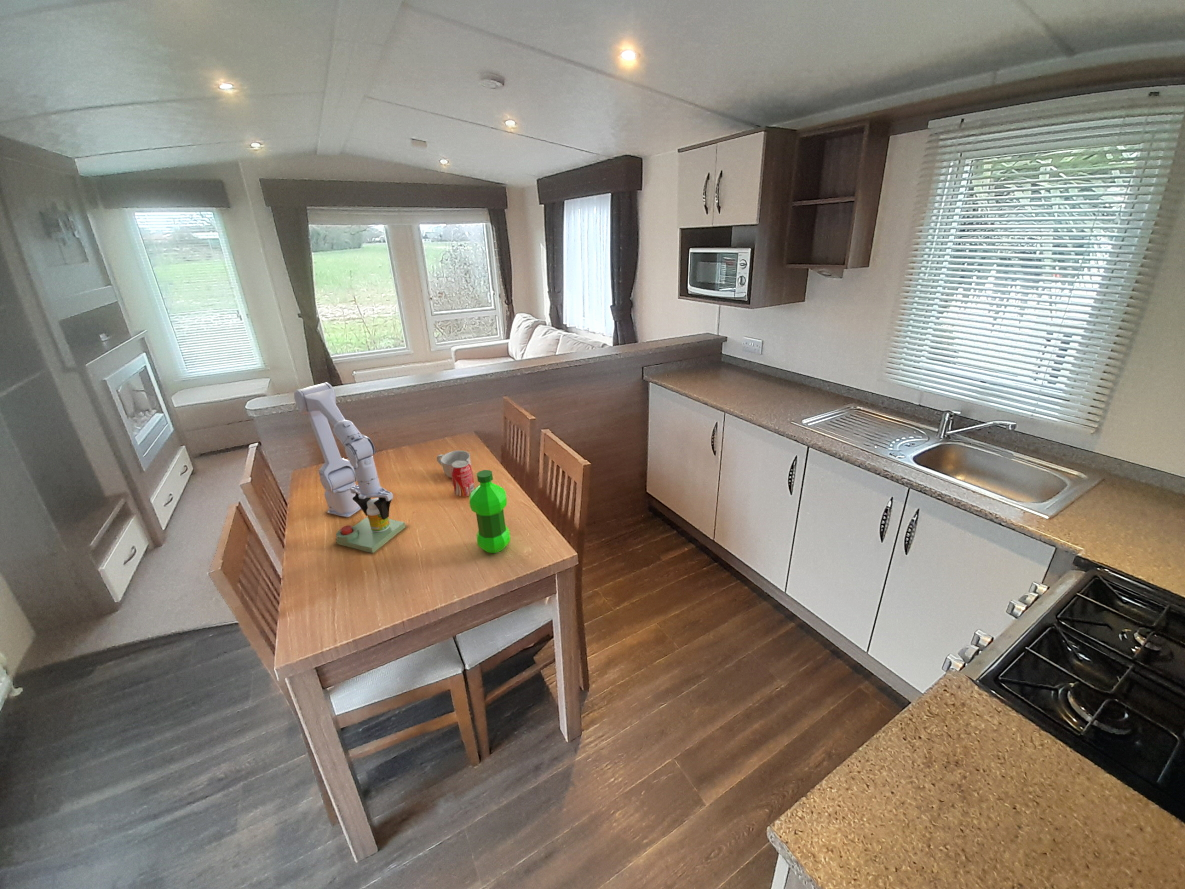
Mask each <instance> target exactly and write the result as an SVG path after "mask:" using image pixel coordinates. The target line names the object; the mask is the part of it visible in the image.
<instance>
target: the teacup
mask: <svg viewBox="0 0 1185 889" xmlns="http://www.w3.org/2000/svg"><path fill="white" fill-rule="evenodd" d="M457 460H467V461H468V462H469V464H470V465H471V466H472V459H471V454H470V452H468V451H467V450H452V451H450V452H447V453H445V454H442V453H441V454H440V453H439V454H438V455H437V456H436V461H437V462H438V464H439V465H440V466H441V467H442V470H443V473H444V474H445V476H446V477H447V478H451V479H452V475H451V467H452V463H453V462H455V461H457Z"/></svg>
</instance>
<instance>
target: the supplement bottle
mask: <svg viewBox="0 0 1185 889" xmlns="http://www.w3.org/2000/svg"><path fill="white" fill-rule="evenodd" d="M378 499H379V498H378V497H376V498H371V500H369V501H368V502H367V506H368V509H367V516H366V517H368V519H369V523H370V527H371V530H372V531H373V532H383V531H385V530H387V529H388V528H389V526H390V524H389V520H388V519H389V517H388V518H386V519H385V520H383V519H382V518H381V515H380V512H379V510H378V508H377V507H376V505H375V504H374V502H375V501H377V500H378Z"/></svg>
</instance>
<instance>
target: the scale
mask: <svg viewBox="0 0 1185 889" xmlns="http://www.w3.org/2000/svg"><path fill="white" fill-rule="evenodd" d="M388 520H389V524H390V526H389V528H388V529H387V530H385V531H383V532H373V531H372V530H371V527H370V523H369V519H368V516H366V517H365V518H363V519H362V520H360V521H359V522H357V523H356V524H355V525H350V526H351V527H352V530H353V532H352V533H351V534H348V535H342V533H341V528H340V529H339V530H337V532H336V534H335V536H336V538H335V541H336V544H337V545H340V546H344V547H348V548H351V549H356V550H359V551H363V552H366V553H370V554H374V553H375V552H377V551H378V550H380V549H381V548H382V547H383V546H384V545H385V544H387V543H388V542H389V541H390V540H392V539H393V538H394V537H395V536H397V534H399V533H400V532H401V531H403V530H404V529H405V528H406V522H405V521H401V520H395V519H393V518H392V519H391V518H388Z"/></svg>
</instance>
